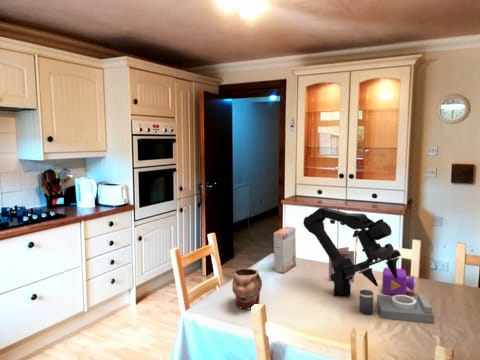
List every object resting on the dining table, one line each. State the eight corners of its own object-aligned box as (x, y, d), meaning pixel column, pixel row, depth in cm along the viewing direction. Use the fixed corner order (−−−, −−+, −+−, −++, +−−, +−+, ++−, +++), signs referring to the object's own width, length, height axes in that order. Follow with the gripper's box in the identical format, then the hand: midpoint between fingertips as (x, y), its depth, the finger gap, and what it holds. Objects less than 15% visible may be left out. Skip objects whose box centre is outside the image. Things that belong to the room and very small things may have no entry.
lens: (359, 314, 139) (360, 294, 138) (358, 308, 144) (359, 289, 143) (373, 315, 138) (374, 295, 137) (372, 309, 143) (372, 290, 142)
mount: (381, 318, 136) (381, 304, 135) (376, 301, 149) (377, 289, 149) (433, 323, 131) (434, 309, 131) (424, 305, 145) (425, 293, 144)
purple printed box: (328, 281, 171) (328, 250, 170) (328, 275, 179) (328, 246, 177) (353, 282, 169) (354, 251, 167) (352, 277, 176) (352, 247, 174)
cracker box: (286, 263, 197) (286, 226, 195) (296, 265, 194) (296, 227, 191) (273, 271, 186) (273, 231, 183) (283, 273, 182) (283, 233, 180)
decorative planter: (237, 292, 162) (236, 262, 160) (264, 293, 160) (264, 263, 158) (228, 313, 142) (227, 279, 140) (259, 315, 140) (258, 280, 138)
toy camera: (418, 298, 152) (419, 275, 150) (383, 296, 154) (384, 273, 153) (411, 288, 162) (412, 266, 161) (379, 286, 165) (379, 265, 164)
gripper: (359, 246, 134) (377, 287, 129) (399, 232, 139) (419, 271, 135) (345, 252, 144) (362, 291, 139) (384, 239, 150) (401, 275, 145)
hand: (386, 282), depth 139 cm, fingers open, 9 cm apart
